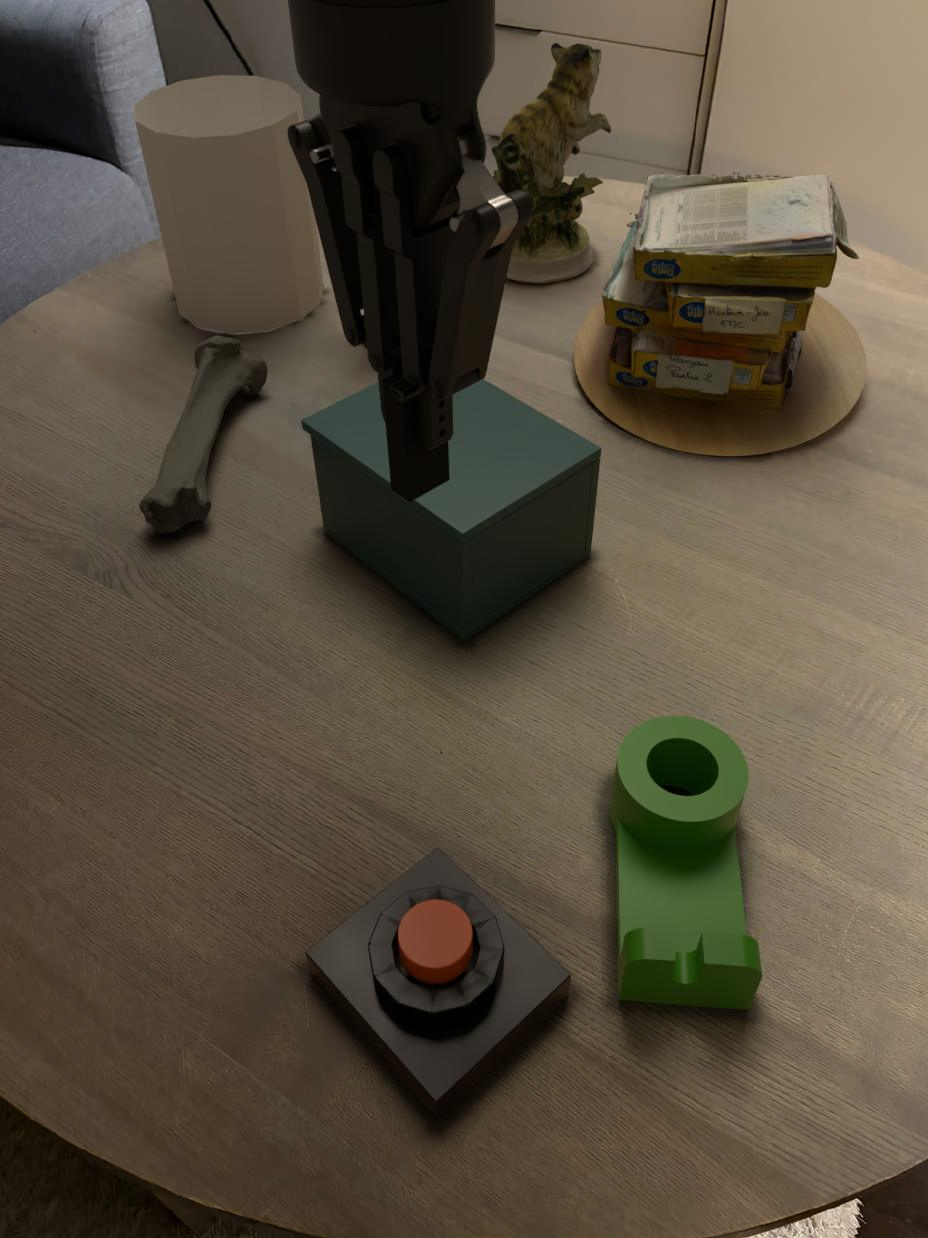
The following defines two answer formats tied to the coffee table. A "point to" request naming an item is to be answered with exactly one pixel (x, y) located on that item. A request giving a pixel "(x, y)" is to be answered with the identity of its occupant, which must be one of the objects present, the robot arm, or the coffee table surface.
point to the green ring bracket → (681, 867)
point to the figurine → (552, 168)
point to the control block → (443, 1013)
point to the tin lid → (464, 454)
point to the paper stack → (725, 317)
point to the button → (435, 941)
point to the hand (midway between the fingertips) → (420, 484)
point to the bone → (199, 433)
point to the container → (231, 201)
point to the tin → (458, 543)
